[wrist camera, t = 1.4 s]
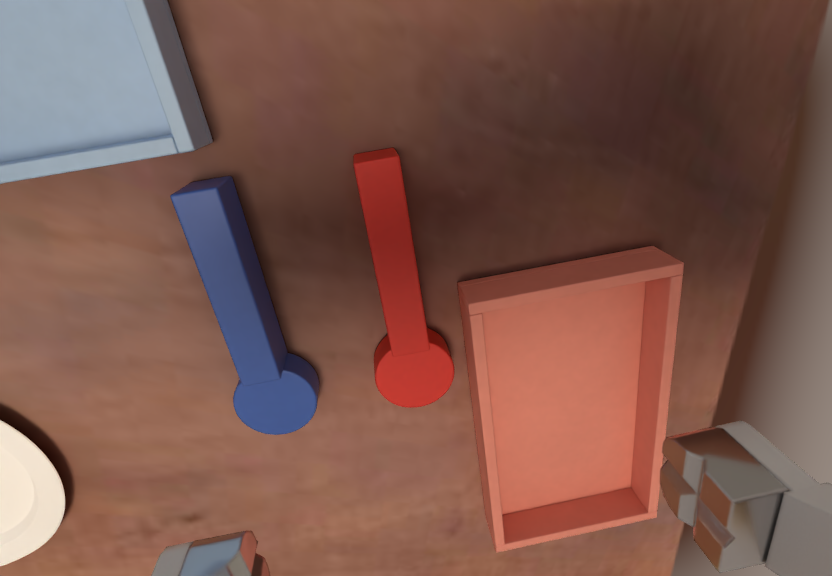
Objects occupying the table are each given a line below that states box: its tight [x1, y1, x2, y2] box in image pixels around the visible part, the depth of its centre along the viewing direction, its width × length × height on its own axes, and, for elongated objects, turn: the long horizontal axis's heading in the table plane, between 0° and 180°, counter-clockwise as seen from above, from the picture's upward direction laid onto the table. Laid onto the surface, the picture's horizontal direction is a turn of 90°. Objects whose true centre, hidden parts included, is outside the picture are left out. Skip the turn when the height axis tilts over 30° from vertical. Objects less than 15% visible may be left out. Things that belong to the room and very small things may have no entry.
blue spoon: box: [171, 176, 319, 435], centre depth 21 cm, size 13×4×2 cm, turn 8°
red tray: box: [457, 246, 684, 552], centre depth 26 cm, size 17×10×2 cm, turn 8°
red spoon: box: [353, 148, 454, 407], centre depth 21 cm, size 13×4×2 cm, turn 8°
